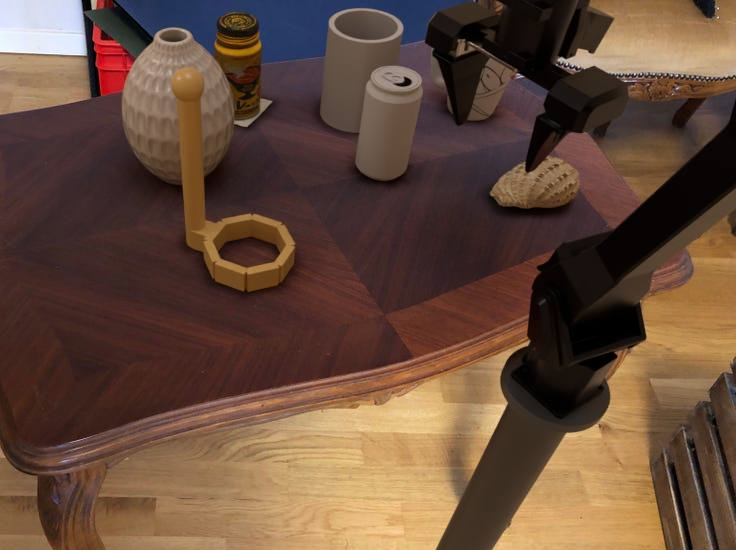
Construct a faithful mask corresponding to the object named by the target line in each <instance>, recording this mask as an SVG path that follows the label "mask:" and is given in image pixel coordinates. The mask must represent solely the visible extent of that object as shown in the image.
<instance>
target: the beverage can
mask: <svg viewBox="0 0 736 550" xmlns="http://www.w3.org/2000/svg"><path fill="white" fill-rule="evenodd" d="M422 81H423V79H422V76H421V75H420V74H419V73H418V72H417V71H415V70H414V69H411V68H408V67H406V66H401V65H397V66H384V67H380V68H378V69H376V70H374V71H373V72H372V74H371V79H370V80H369V81H368V82H367V85H366V91H365V98H364V104H363V111H362V118H361V125H360V132H359V133H358V140H357V146H356V153H355V161H354V162H355V166H356V168H357V169H358V170H359V172H360V173H361V174H363V175H364V176H365V177H367V178H369V179H372V180H375V181H381V182H387V181H391V180H395V179H397V178H398V177H400V176H402V175H403V174H405V172H406V171H407V169H408V165H409V159H410V155H411V150H412V145H413V141H414V137H415V131H416V128H417V127H416V126H417V122H418V117H419V112H420V109H421V103H422V98H423V94H424V88H423V87H422V83H423V82H422Z"/></svg>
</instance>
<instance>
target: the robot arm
mask: <svg viewBox="0 0 736 550" xmlns="http://www.w3.org/2000/svg"><path fill="white" fill-rule="evenodd" d="M495 1H496V2H498V3H500V4H502V7H501V11H500V14H499V13H497V12H495V11H493V10H491V9H489V8H487V7H486V6H484V5H482V4H480V3H478V2H476V1H474V0H469V1H466V2H463V3H459V4H456V5H453V6H450V7H447V8H444V9H440V10H437V11H436V12H435V13H434V14H433V16H432V17H431V18H430V20H429V21H428V23H427V27H426V32H425V37H424V44H425V45H427V46H429V47H431V49H432V48H434V49H433V51H432V56H433V57H434V58H436V59H437V61H438V64H439V67H440V74H441V77H442V78H443V79H444V82H445V85H446V89H447V90H446V92H447V97H448V96H449V100H450V104H451V108H452V112H453V114H452V115H453V119H454V123H455V125H456V126H457V127H462V126H463V125H465V124H467V122H468V120H467V119H468V116H469V114H470V111H471V109H472V105H473V102H474V98H475V95H476V91H477V88H478V84H479V80H480V77H481V73H482V70H483V68H484V66H485V65H486V63H487V62H488V60H489V59H490V58H491V59H493V60H495V61H496V62H498V63H500V64H502V65H503V66H505V67H507V68H508V69H510V70H512V71H513V72H514V73H517V74H519V75H520V76H522V77H524V78H526V79H527V80H529V81H531V82H532V83H534V84H535V85H537V86H539V87H541V88H543V89H544V90H546V91H547V93H546V96H545V99H544V101H543V104H542V106H543V108H544V112H542V113H540V114H537V115H536V116H535V120H534V125H533V129H532V133H531V136H530V141H529V145H528V148H527V153H526V157H525V161H526V162H525V161H524V162H525V171H526V172H527V173H530V172H532V171H534V170H535V169H536V168H537V167H538V166H539V165H540V164H541V163H542V162H543V161H544V159H545V158H546V157H547V156H550V154H551V153H552V152H553V151H554V150H555V148H556V147H557V146H559V144H560V143H561V142H562V141H563V140H564V139H565V137H566V136H568V135H570V134H571V133H574V134H581V135H582V134H584V133H586V132H588V131H591V130H593V129H596V128H597V127H600V126H601V125H605V124H606V123H608V122H611V121H613V120H615V119H617V118H621V117H622V115H623V114H624V111H625V110H626V107H627V105H628V103H629V100H630V98H631V97H630V96H631V92H630V87H629V84H628V82H626V81H624V80H622V79H620V78H618V77H617V76H615V75H614V74H611V73H609V72H607V71H605V70H603V69H602V68H600V67H598V66H596V65H592V66H589V67H587V68H584V69H582V70H579V71H577V72H574V73H571V72H570V71H567V70H565V69H564V68H562V67H561V66H558V65H556V64H557V63H558V60H559V59H564V60H569V59H572V58H574V57H576V55H577V53H578V50H583V51H587V53H588V54H592V55H594V54H595V53H596V51H597V50H598V48H599V46H600V45H601V43H602V41H603V39H604V38H605V36H606V34H607V32H608V31H609V29H610V27H611V26H612V24H613V22H615V17H614V16H612V15H610V14H608V13H606V12H604V11H601V10H599V9H598V8H595V7H593V6H591V5H590V3H591V0H495ZM734 211H736V98H735V99H734V103H733V105H732V110H731V114H730V117H729V120H728V121H727V123H726V125H725V126H724V127H723V128H722V129H721V130H720V131H719V132H718V133H717V134H716V135H714V136H713V137H712V138H711V139H710V140H709V141H708V142H707V143H705V145H703V147H702V148H700V149H699V150H698V151H697V152H696V153H694V155H692V157H691V158H689V160H687V161H686V162H685V163H684V164H683V165H682V166H681V167H680V168H679V169H678V170H676V172H674V173H673V174H672V175H671V176H670V177H669V178H668V179H667V180H666V181H664V183H662V185H660V187H657V189H656V190H655V191H654V192H653V193H652V194H651V195H650V196H649V197H647V198H646V199H645V200H644V201H643V202H642V203H641V204H640V205H639V206H638V207H636V209H634V210H633V211H632V212H631V213H630V214H629V215H628V216H627V217H626V218H624V220H622V221H621V222H620V223H619V224H618V225H617V226H616V227H615V228H613V229H609V230H605V231H602V232H598V233H595V234H591V235H587V236H583V237H579V238H576V239H572V240H568V241H564V242H562V243H561V244H560V245H559V246H557V248H555V250H554V251H553V253H552V254H551V256H550V257H549V258H548V259H547V260H546V261H545V262H544V263H542V264H537V265H536V270H537V271H539V273H538V274H537V275H536V277H535V278H534V280H533V282H532V285H531V287H530V289H531V291H532V292H531V294H530V301H529V302H530V303H529V312H528V319H527V320H528V321H527V322H528V323H527V330H526V337H527V338H528V340H529V342H528V345H526V346H527V349H526V351H525V353H524V355H523V357H522V362H523V363H524V364H523V365H521V366H520V367H518V368H516V369H515V370H513V371H512V373H511V377H512V378H513V379H514V380H515V381H516V382H517V383H518V384H519V385H520V386H522V387H523V388H524V389H525V390H526V391H527V392H528V393H529V394H531V395H532V396H533V397H534V398H535V399H536V400H537V401H538V402H539V403H541V404H542V405H543V406H544V407H545V408H546V409H547V410H548V411H550V412H551V413H552V414H553V415H554V416H555V417H557V418H559V419H563V418H565V417H566V416H568V415H569V414H571V413H572V412H574V411H575V410H577V409H578V408H580V407H581V406H583V405H584V404H586V403H587V402H589V401H590V400H592V399H593V398H595V397H597V396H598V395H600V394H601V393H602V392H603V391H604V386H603V385H602V384H601V383H602V381H603V380H604V378H605V379H606V377H607V375H608V373H609V372H610V370H611V369H612V367H613V366H614V364H615V362H616V361H617V359H618V358H619V356H618V354H617V353H618V352H622V351H624V350H631V349H633V348H635V347H637V346H638V345H640V344H642V343H645V341H647V332H646V327H645V320H644V315H643V311H642V310H643V309H642V303H641V300H642V299H643V298H644V297H645V296H646V295H647V294H648V292H649V291H650V290H651V287H652V281H653V277H654V274H655V272H656V271H657V270H658V269H659V268H661V267H662V266H663V265H665V264H666V263H668V262H669V261H670V260H671V259H672V258H674V257H675V256H676V255H677V254H679V253H680V252H682V251H683V250H684V249H686V248H687V247H688V246H690V245H691V244H692V243H694V242H695V241H696V240H698V239H699V238H700V237H701V236H702V235H704V234H706V233H707V232H708V231H709V230H710V229H712V228H713V227H714V226H715V225H717V224H718V223H720V222H721V221H722V220H723V219H725V218H726V217H727V216H729V215H730V214H731V213H732V212H734ZM515 374H517V375H518V376H517V375H515ZM598 388H599V389H598ZM558 412H559V413H561V414H559V413H558Z"/></svg>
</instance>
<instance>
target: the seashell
mask: <svg viewBox="0 0 736 550" xmlns="http://www.w3.org/2000/svg"><path fill="white" fill-rule="evenodd" d="M525 162H526V160H525V161H523V162H521V163H519V164H517V165H516V166H514V167H513V168H511V169H510V170H509V171H507V172H505V173H504V174H503V175H502V176H500V178H499V179H498V181H497V182H496V183H495V184H494V185H493V187H492V189H491V190H490V191H489V193H488V195H490V196H491V197H492V198H493V199H494V200H495V201H496V202H497V204H498V205H499V206H501V207H516V208H520V209H532V208H543V209H554V208H558V207H560V206H564V205H567V204H568V203H569V202H571V201H572V200H573V199H575V198H576V196H577V195H578V193H579V191H580V190H579V189H580V186H581V180H579V178H580V174H579V170H577V169H576V168H575V167H573V166H572V165H570V164H571V163H570V161H564V159H563V158H561V157H559V156H551V155H548V156H547V157H546V158H545V159H544V161H543V162H542V163H541V164H540V165H539V166H538V167H537V168H536V169H535V170H534V171H532V172H530V173H527V172H526V171H525Z"/></svg>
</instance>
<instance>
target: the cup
mask: <svg viewBox="0 0 736 550" xmlns="http://www.w3.org/2000/svg"><path fill="white" fill-rule="evenodd" d="M403 33H404V25H403V23H402V21H401V20H400V19H399V18H397V17H396V16H395V15H393V14H390V13H389V12H385V11H382V10H379V9H375V8H374V9H373V8H365V7H358V8H357V7H356V8H348V9H344V10H341V11H338V12H336V13H334V14H333V15H332V16H331V17H330V18H329V20H328V26H327V36H326V47H325V55H324V56H325V57H324V66H323V75H322V84H321V85H322V87H321V96H320V106H319V116H320V118H321V119H322V121H323V122H324V123H325V124H326V125H327V126H330V127H331V128H333V129H336V130H339V131H342V132H345V133H346V132H347V133H353V134H354V133H355V134H359V132H360V125H361V118H362V111H363V104H364V98H365V91H366V85H367V82H368V81H369V80H370V79H371V74H372V72H373V71H374V70H376V69H378V68H380V67H384V66H398V61H399V56H400V52H401V51H400V50H401V45H402V39H403Z"/></svg>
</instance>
